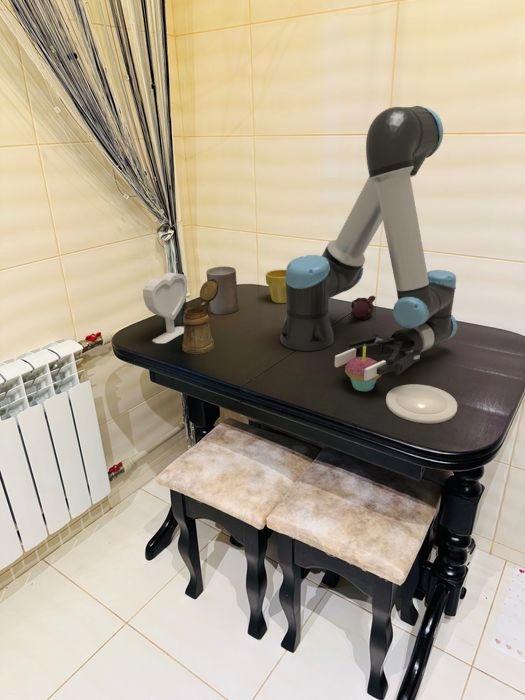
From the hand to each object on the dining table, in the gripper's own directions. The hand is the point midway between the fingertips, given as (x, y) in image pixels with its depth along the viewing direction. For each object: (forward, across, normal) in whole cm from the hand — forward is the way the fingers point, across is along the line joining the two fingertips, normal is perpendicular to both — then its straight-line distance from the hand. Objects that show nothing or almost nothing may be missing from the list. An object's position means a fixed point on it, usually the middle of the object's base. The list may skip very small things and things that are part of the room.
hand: (350, 368), depth 114 cm
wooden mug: (+10, +46, -7) cm, 48 cm away
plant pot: (-31, +60, -7) cm, 68 cm away
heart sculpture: (+13, +59, -7) cm, 61 cm away
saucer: (-8, -14, -6) cm, 17 cm away
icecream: (-39, +29, -7) cm, 49 cm away
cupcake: (-5, 0, -7) cm, 8 cm away
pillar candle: (-11, +66, -7) cm, 67 cm away
